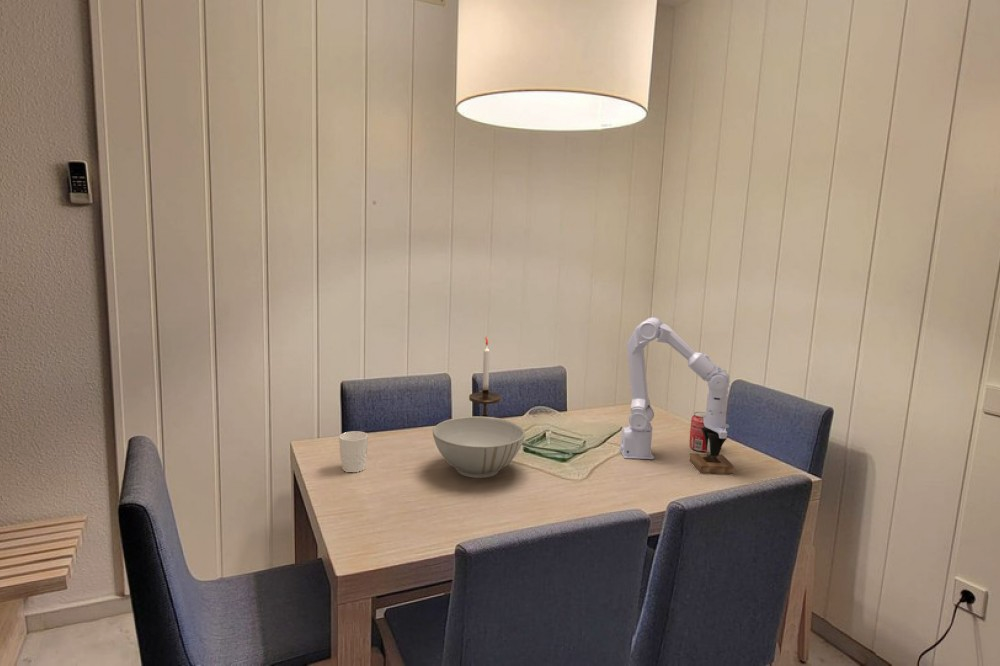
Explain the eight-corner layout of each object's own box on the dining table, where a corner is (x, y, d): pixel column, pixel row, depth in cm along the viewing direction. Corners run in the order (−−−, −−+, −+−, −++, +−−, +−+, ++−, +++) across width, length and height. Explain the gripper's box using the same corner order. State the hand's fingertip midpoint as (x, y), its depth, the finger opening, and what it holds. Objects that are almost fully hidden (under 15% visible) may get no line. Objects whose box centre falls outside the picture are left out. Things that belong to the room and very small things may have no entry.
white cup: (333, 470, 168) (333, 437, 167) (352, 461, 175) (352, 429, 173) (355, 476, 165) (354, 442, 163) (373, 467, 172) (373, 434, 170)
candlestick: (464, 433, 203) (467, 333, 197) (494, 431, 206) (497, 333, 201) (472, 444, 193) (475, 339, 187) (504, 441, 196) (507, 338, 190)
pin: (709, 460, 177) (710, 441, 176) (704, 456, 180) (706, 437, 179) (718, 460, 177) (720, 441, 176) (714, 456, 180) (715, 437, 179)
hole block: (700, 473, 174) (700, 465, 174) (689, 460, 184) (690, 453, 184) (733, 474, 174) (734, 466, 174) (721, 461, 184) (721, 454, 184)
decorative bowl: (514, 494, 156) (516, 451, 154) (419, 483, 162) (419, 441, 160) (530, 457, 182) (531, 420, 180) (447, 449, 188) (447, 412, 186)
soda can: (708, 445, 198) (711, 411, 196) (713, 453, 191) (716, 418, 189) (686, 444, 199) (689, 410, 197) (691, 452, 192) (694, 416, 190)
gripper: (739, 418, 169) (734, 462, 171) (720, 403, 183) (716, 445, 185) (714, 417, 169) (710, 462, 171) (698, 403, 183) (694, 444, 185)
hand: (712, 453), depth 178 cm, fingers closed on pin, 3 cm apart
